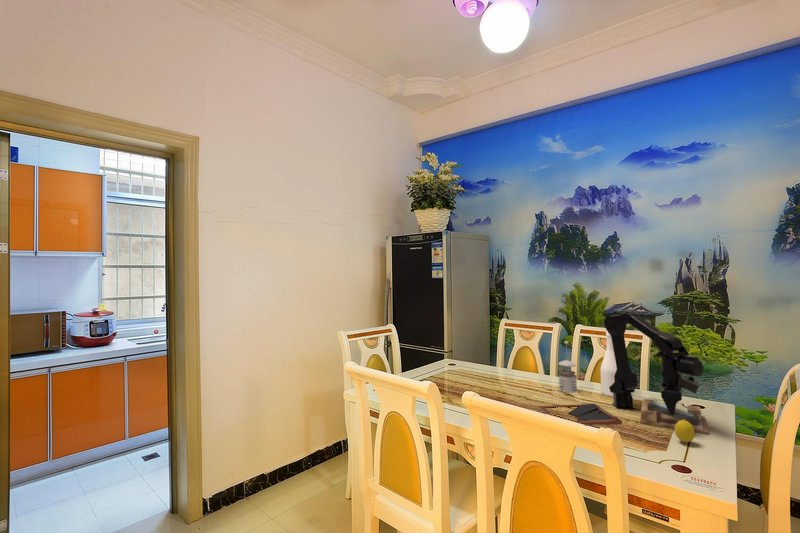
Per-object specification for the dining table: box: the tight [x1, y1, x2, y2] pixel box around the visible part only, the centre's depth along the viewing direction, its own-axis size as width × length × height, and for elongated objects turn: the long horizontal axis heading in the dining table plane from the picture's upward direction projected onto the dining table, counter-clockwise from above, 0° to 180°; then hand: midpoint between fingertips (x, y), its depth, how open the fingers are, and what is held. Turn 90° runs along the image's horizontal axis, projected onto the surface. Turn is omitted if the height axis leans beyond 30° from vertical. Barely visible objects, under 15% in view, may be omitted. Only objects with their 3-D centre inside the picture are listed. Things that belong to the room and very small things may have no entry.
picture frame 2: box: [648, 399, 699, 425], centre depth 151 cm, size 16×5×2 cm, turn 56°
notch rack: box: [639, 398, 709, 435], centre depth 155 cm, size 21×17×5 cm
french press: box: [558, 340, 579, 393], centre depth 196 cm, size 10×12×25 cm
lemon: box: [674, 419, 696, 444], centre depth 136 cm, size 6×6×8 cm
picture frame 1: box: [537, 403, 623, 426], centre depth 164 cm, size 20×2×25 cm
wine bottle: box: [600, 330, 617, 398], centre depth 189 cm, size 10×10×30 cm
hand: (672, 410), depth 152 cm, fingers open, 9 cm apart
